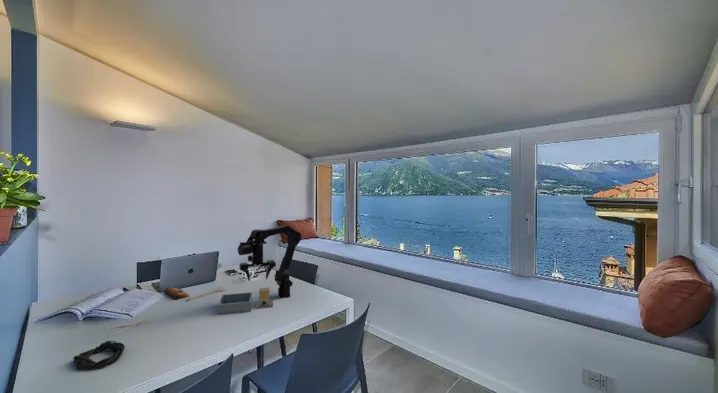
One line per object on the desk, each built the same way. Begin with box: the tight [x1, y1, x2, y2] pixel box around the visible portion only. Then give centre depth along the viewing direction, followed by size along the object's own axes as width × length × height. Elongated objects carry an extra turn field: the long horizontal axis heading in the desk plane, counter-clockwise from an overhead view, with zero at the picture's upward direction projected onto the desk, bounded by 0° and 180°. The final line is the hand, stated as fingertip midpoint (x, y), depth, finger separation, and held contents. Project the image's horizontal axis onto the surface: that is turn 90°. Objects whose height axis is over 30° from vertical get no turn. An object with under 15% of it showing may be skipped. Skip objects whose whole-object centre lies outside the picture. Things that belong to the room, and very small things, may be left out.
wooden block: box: [258, 287, 270, 302], centre depth 165 cm, size 5×5×6 cm
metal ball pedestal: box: [255, 299, 274, 309], centre depth 165 cm, size 9×9×8 cm
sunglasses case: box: [164, 286, 191, 301], centre depth 179 cm, size 18×7×7 cm
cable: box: [73, 340, 126, 370], centre depth 110 cm, size 17×14×4 cm
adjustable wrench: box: [185, 286, 228, 302], centre depth 181 cm, size 25×6×2 cm, turn 147°
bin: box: [217, 292, 253, 316], centre depth 161 cm, size 16×16×5 cm
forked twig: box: [104, 318, 149, 337], centre depth 136 cm, size 10×2×15 cm
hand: (257, 280), depth 167 cm, fingers open, 9 cm apart
